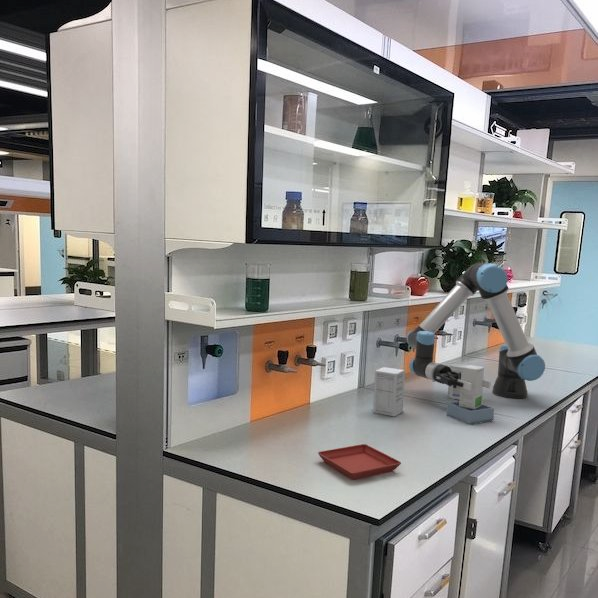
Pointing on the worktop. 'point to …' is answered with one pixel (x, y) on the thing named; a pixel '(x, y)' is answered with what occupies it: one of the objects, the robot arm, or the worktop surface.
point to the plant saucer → (359, 461)
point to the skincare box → (472, 387)
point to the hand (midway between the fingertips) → (480, 386)
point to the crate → (470, 413)
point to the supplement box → (388, 391)
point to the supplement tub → (457, 368)
